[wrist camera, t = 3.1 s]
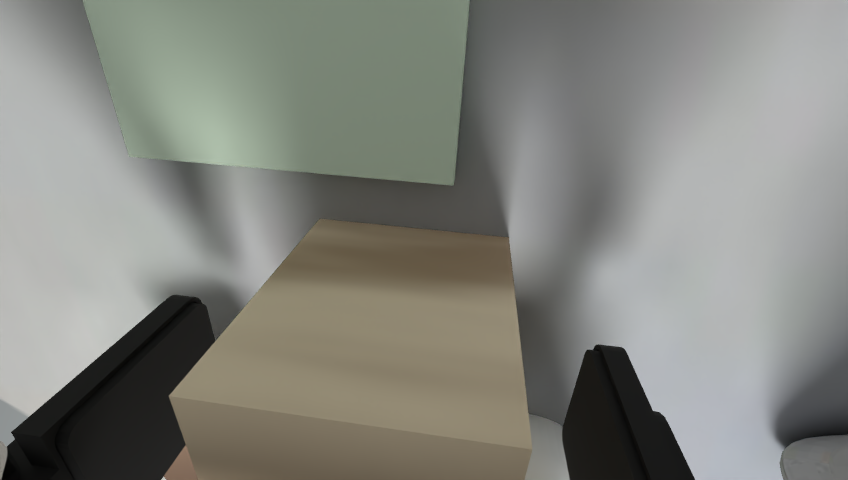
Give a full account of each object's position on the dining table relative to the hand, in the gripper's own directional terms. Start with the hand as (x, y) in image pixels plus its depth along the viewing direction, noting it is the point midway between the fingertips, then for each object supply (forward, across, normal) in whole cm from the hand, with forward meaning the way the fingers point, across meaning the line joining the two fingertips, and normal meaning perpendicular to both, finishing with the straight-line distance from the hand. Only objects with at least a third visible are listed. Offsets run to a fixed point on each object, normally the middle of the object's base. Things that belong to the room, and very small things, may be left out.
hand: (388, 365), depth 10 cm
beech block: (+2, 0, 0) cm, 2 cm away
